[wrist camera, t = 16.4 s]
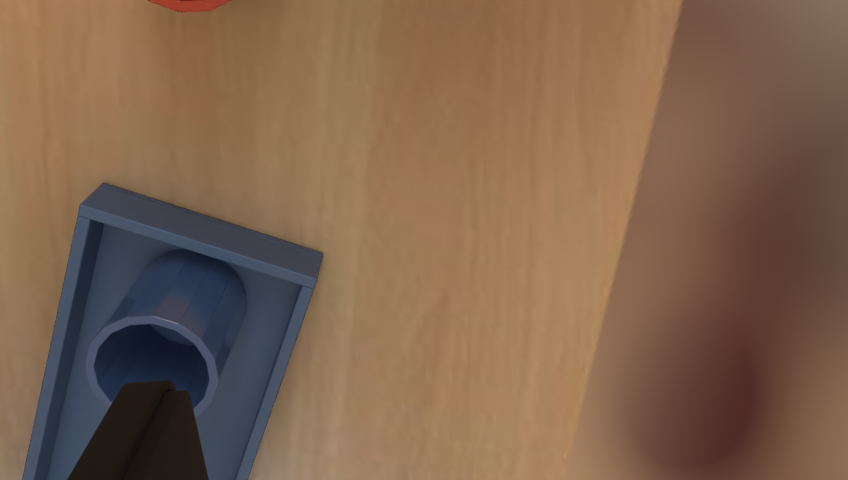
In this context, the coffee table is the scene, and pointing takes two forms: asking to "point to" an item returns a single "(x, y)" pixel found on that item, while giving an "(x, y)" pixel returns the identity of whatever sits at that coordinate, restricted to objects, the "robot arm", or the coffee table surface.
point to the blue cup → (171, 328)
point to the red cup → (190, 4)
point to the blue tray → (110, 280)
